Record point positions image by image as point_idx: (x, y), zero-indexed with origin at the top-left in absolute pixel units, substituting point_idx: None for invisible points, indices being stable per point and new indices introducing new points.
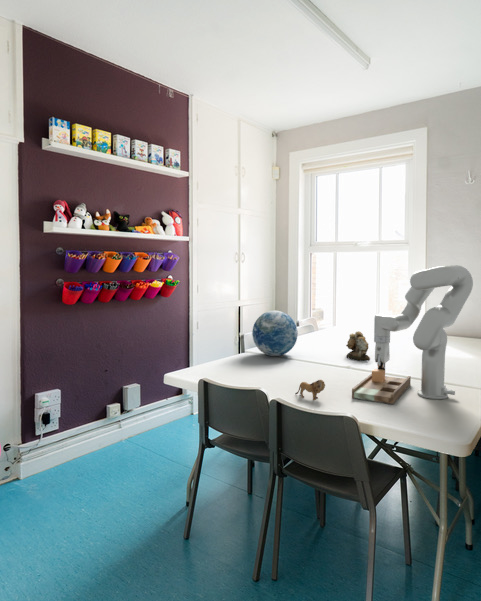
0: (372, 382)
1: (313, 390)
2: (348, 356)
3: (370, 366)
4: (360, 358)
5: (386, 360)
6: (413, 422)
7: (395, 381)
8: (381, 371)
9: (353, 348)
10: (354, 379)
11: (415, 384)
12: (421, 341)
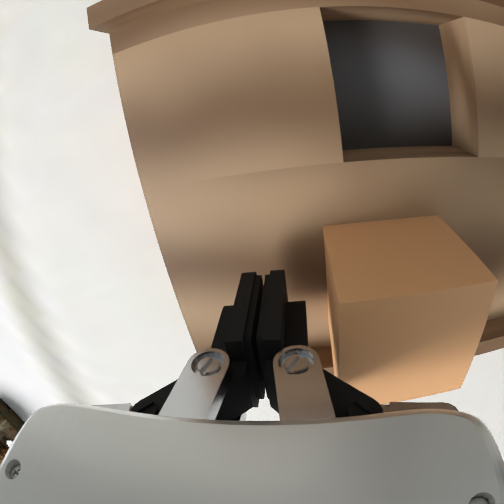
0: None
1: None
2: None
3: (20, 383)
4: (9, 415)
5: (322, 467)
6: None
7: (317, 94)
8: (462, 306)
9: (1, 444)
10: (271, 409)
11: (86, 17)
12: None
